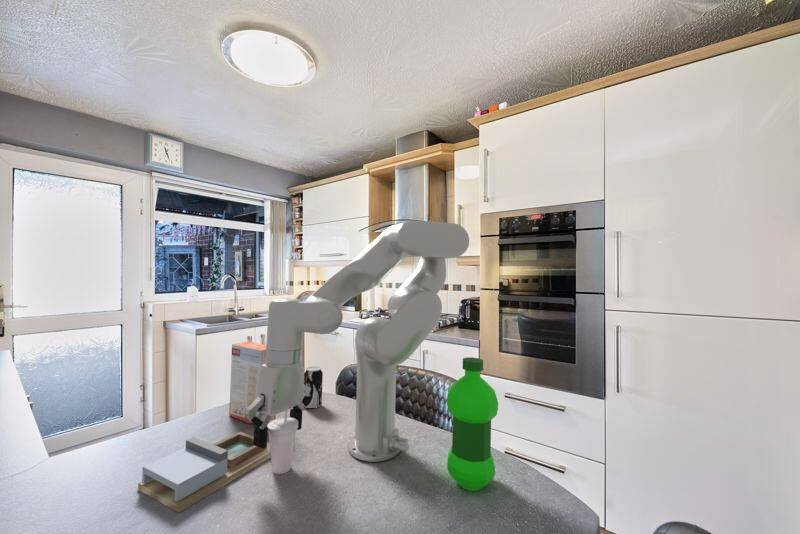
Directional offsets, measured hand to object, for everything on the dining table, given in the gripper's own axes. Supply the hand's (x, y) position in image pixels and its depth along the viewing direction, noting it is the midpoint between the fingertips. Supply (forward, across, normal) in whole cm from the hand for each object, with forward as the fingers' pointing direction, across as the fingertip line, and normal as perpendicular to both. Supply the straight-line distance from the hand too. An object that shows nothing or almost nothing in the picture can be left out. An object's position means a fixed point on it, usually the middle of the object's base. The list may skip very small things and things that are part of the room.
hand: (278, 436), depth 71 cm
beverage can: (+7, -30, -16) cm, 35 cm away
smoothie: (+7, -1, +1) cm, 7 cm away
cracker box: (+7, -15, -25) cm, 30 cm away
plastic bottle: (+6, -16, +38) cm, 41 cm away
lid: (+6, +12, -11) cm, 18 cm away
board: (+7, +6, -11) cm, 15 cm away
